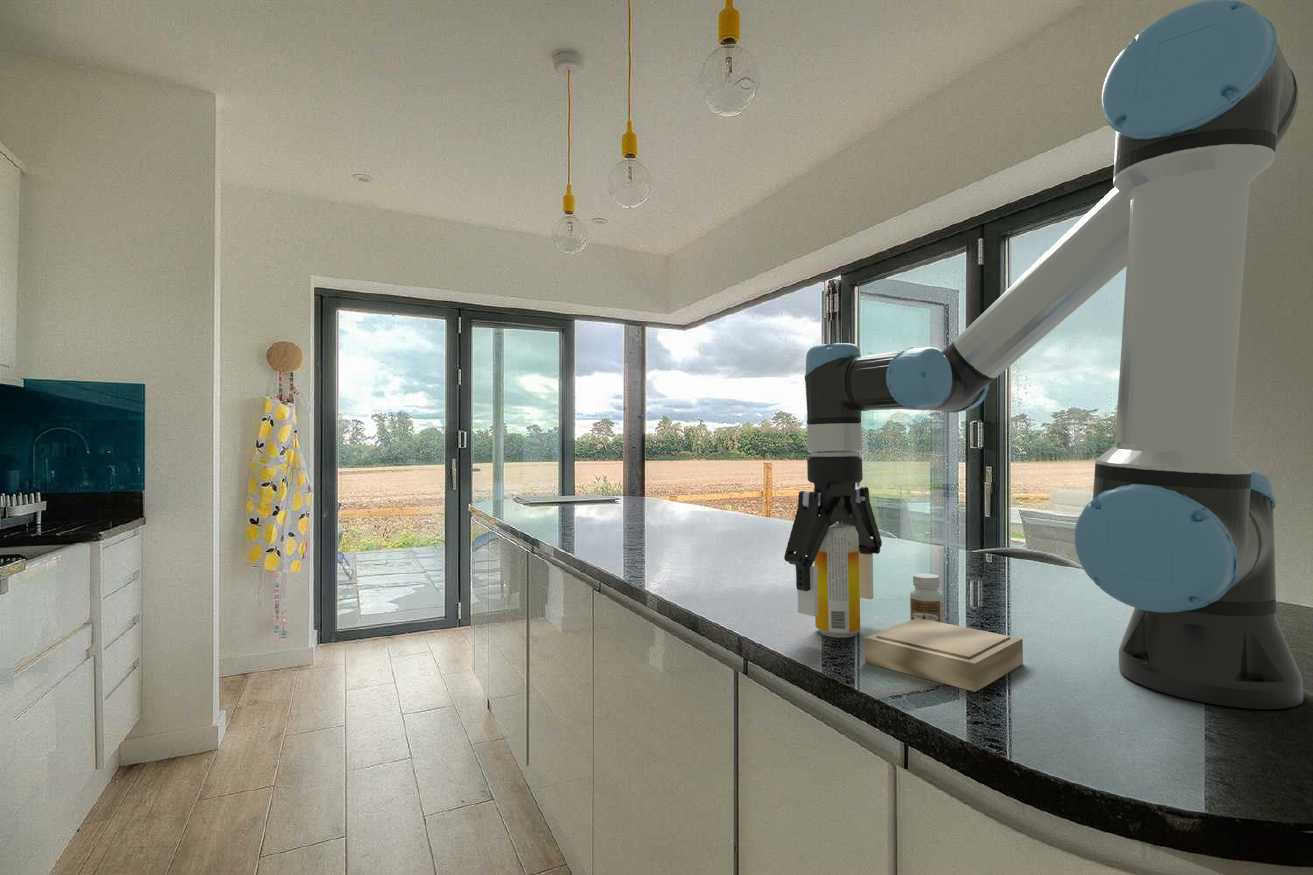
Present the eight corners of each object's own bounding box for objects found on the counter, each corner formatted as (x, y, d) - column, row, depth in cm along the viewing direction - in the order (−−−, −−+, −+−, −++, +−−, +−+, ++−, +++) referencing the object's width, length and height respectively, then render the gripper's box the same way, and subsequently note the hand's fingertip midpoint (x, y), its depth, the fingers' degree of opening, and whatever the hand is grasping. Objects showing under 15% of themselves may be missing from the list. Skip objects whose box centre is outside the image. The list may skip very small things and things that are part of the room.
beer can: (855, 626, 94) (853, 523, 94) (864, 639, 88) (862, 528, 88) (812, 626, 94) (810, 523, 95) (819, 638, 88) (816, 528, 88)
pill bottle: (908, 632, 90) (907, 577, 91) (912, 624, 94) (911, 571, 94) (943, 636, 88) (941, 579, 89) (945, 628, 92) (944, 573, 92)
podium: (1023, 663, 77) (1022, 636, 77) (975, 692, 68) (974, 661, 68) (918, 640, 87) (917, 616, 87) (865, 662, 78) (864, 635, 78)
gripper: (859, 453, 102) (862, 587, 102) (755, 456, 86) (758, 616, 86) (904, 453, 97) (907, 595, 96) (802, 456, 80) (805, 627, 80)
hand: (837, 605), depth 91 cm, fingers open, 13 cm apart
